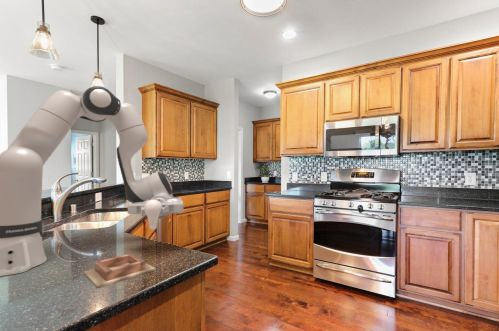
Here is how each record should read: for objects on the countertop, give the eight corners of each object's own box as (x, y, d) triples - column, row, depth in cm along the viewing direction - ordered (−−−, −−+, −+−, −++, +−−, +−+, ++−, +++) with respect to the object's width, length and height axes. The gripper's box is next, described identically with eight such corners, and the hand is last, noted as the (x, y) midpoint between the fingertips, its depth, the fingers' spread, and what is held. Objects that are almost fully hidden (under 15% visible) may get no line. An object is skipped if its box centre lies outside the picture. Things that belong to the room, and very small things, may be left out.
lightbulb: (144, 232, 85) (144, 200, 86) (143, 229, 91) (143, 199, 91) (162, 231, 88) (163, 200, 89) (161, 227, 94) (161, 198, 94)
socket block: (97, 288, 66) (97, 276, 66) (83, 273, 76) (83, 263, 76) (155, 270, 78) (155, 260, 78) (137, 259, 87) (137, 250, 87)
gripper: (133, 198, 101) (121, 202, 87) (185, 197, 104) (181, 201, 91) (133, 213, 101) (121, 220, 87) (185, 212, 104) (181, 218, 91)
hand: (152, 210), depth 89 cm, fingers closed on lightbulb, 5 cm apart
